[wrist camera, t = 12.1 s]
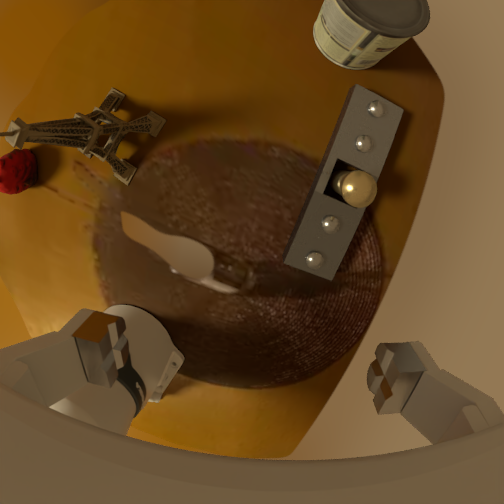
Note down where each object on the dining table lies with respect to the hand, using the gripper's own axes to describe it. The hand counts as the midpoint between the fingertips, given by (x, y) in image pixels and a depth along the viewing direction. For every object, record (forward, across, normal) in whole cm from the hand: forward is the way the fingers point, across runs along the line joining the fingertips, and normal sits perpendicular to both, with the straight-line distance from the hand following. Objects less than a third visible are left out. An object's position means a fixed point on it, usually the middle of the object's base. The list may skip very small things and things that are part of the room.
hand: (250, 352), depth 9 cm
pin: (+31, -10, -3) cm, 33 cm away
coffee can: (+31, -10, -24) cm, 41 cm away
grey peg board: (+31, -10, -3) cm, 33 cm away
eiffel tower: (+31, +21, -8) cm, 38 cm away
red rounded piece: (+31, +40, -3) cm, 51 cm away
